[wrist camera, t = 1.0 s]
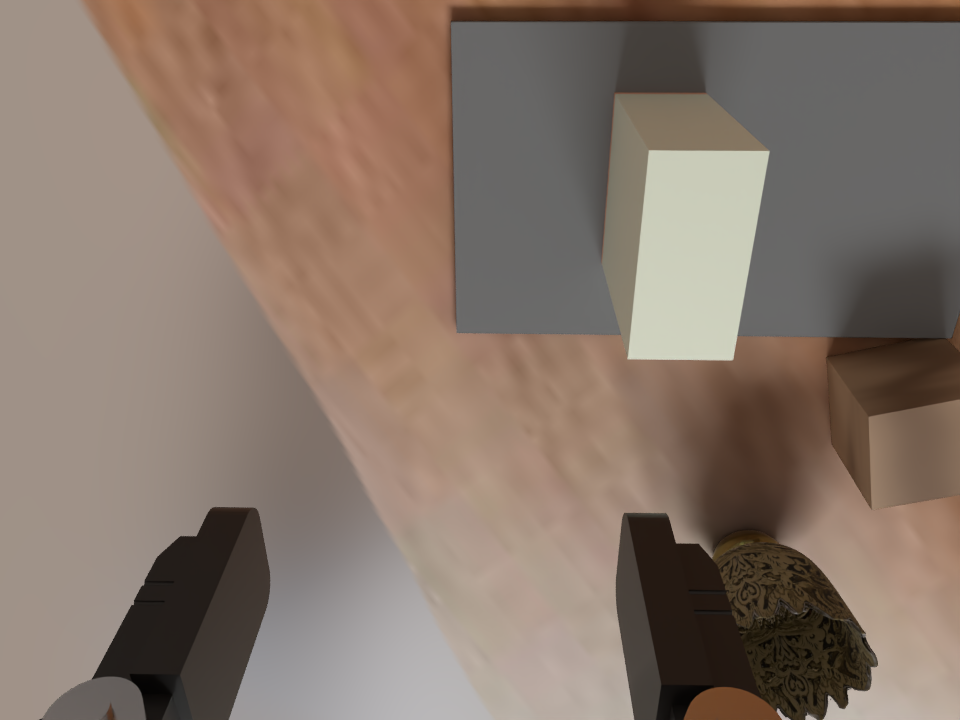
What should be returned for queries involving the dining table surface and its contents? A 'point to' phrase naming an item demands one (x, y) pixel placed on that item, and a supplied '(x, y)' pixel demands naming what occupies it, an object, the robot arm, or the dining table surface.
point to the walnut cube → (898, 420)
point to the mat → (762, 112)
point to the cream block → (679, 224)
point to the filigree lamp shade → (792, 626)
